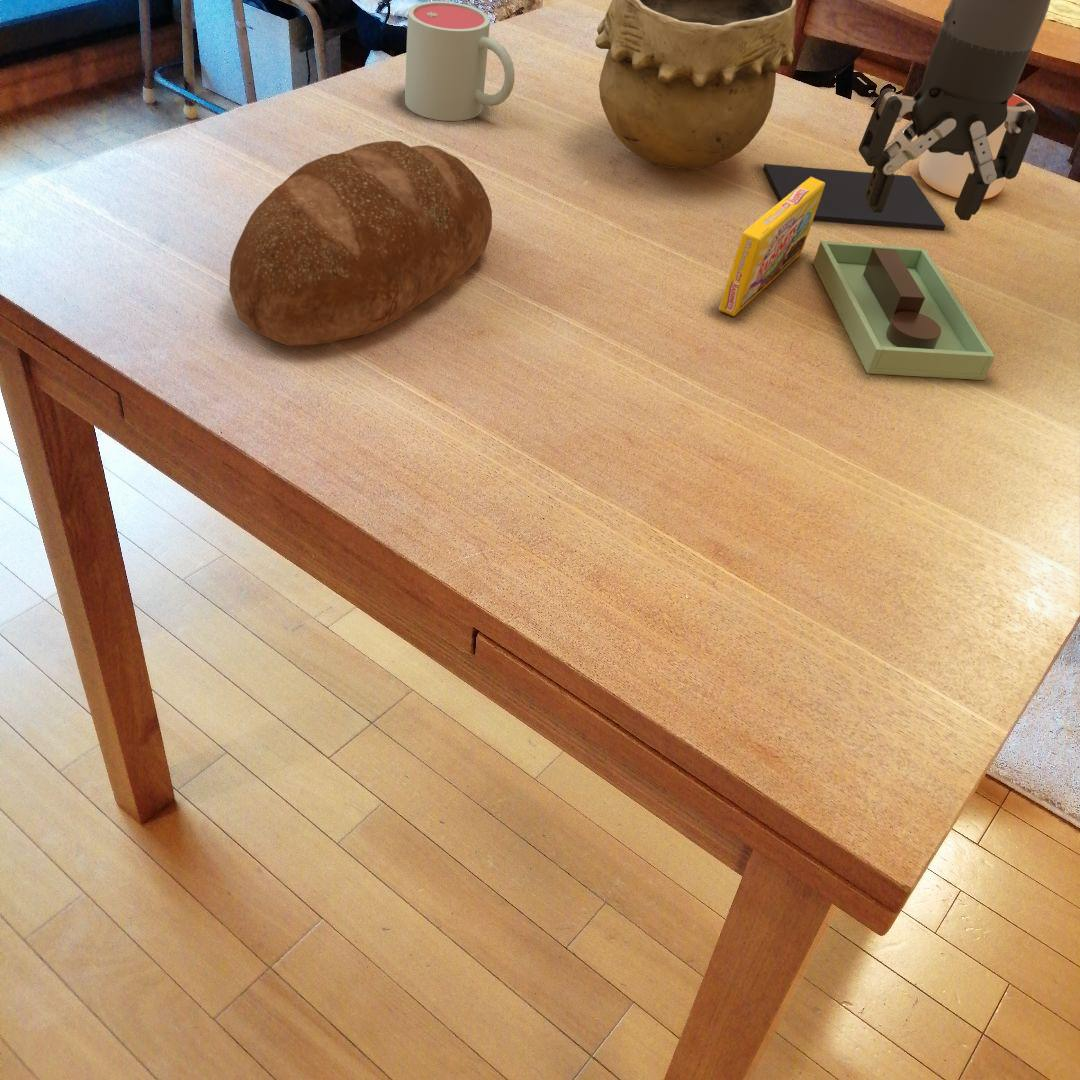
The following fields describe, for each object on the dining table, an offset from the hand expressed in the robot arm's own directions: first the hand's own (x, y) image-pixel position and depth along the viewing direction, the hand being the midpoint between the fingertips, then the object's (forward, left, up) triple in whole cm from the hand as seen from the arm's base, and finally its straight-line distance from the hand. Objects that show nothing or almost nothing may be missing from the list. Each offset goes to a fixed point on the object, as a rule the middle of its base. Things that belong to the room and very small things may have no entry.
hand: (918, 212), depth 101 cm
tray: (0, +3, -10) cm, 10 cm away
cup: (-18, -28, -10) cm, 35 cm away
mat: (-3, -22, -10) cm, 24 cm away
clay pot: (+17, -28, -10) cm, 34 cm away
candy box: (+12, -2, -10) cm, 16 cm away
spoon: (0, +3, -9) cm, 9 cm away
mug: (+41, -37, -10) cm, 56 cm away
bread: (+50, +2, -10) cm, 51 cm away
